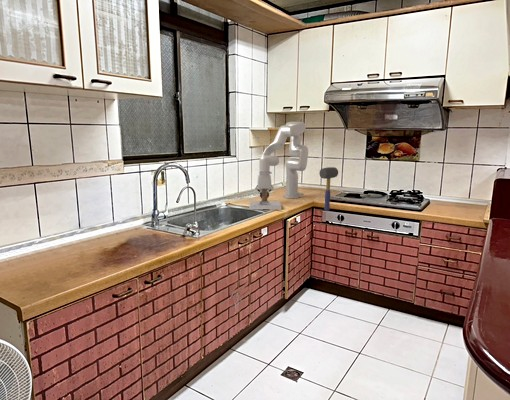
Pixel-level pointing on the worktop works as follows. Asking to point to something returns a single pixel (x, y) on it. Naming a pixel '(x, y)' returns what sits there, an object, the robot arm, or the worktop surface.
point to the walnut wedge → (264, 194)
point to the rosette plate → (265, 205)
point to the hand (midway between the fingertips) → (264, 197)
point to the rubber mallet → (328, 183)
